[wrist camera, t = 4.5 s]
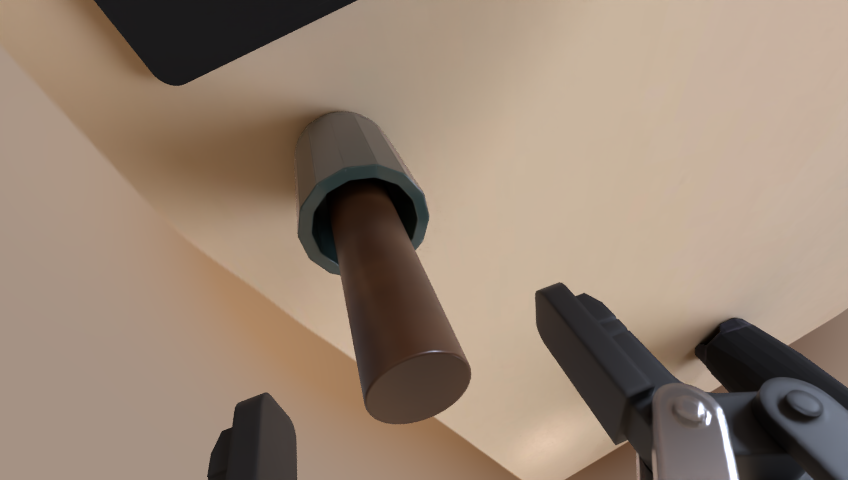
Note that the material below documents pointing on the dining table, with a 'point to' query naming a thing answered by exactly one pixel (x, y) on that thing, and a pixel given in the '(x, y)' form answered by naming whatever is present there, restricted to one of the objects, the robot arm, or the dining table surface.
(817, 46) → the dining table surface
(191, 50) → the smartphone
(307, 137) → the holder
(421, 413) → the stirring stick
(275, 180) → the dining table surface
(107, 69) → the dining table surface
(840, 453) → the robot arm
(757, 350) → the portable speaker
